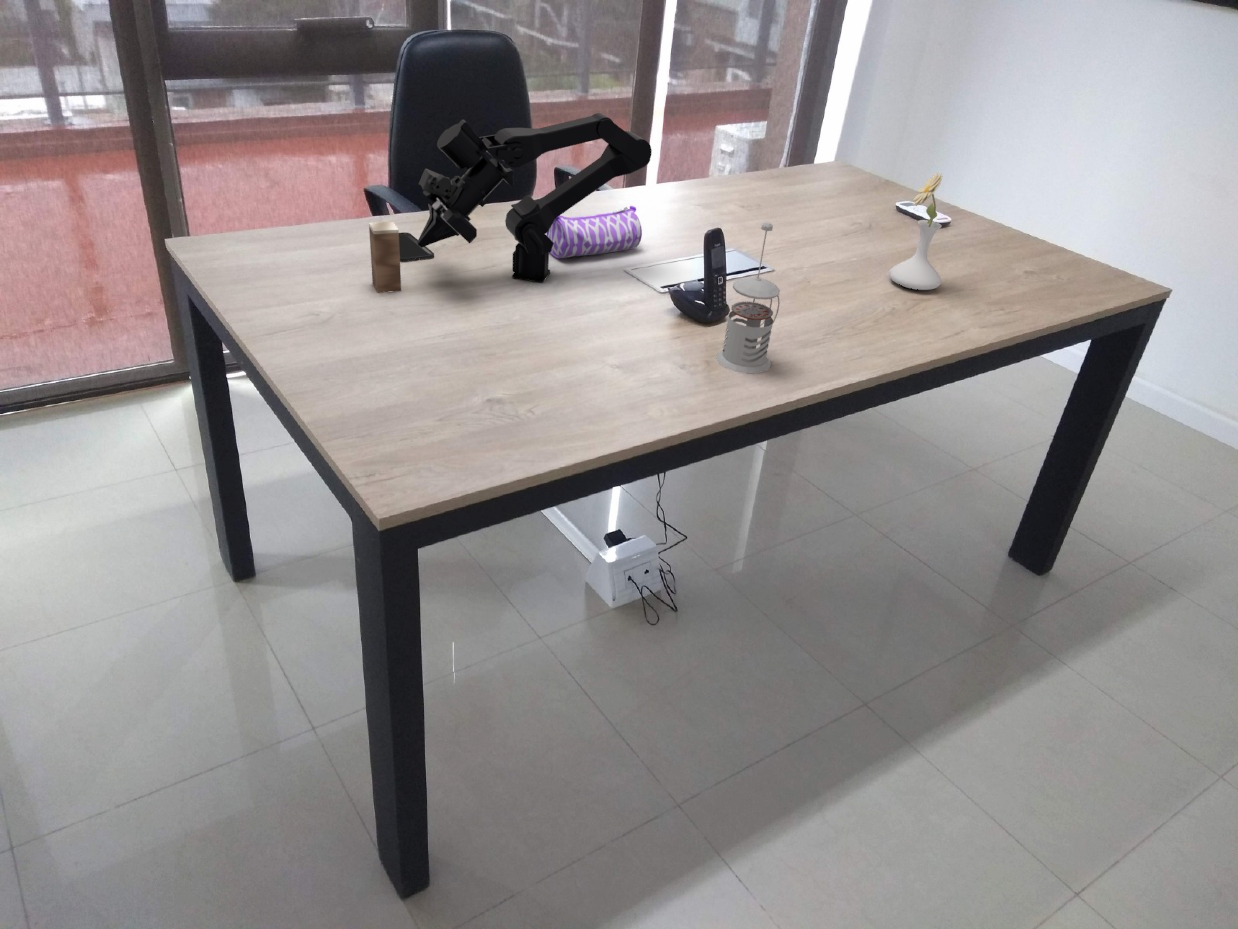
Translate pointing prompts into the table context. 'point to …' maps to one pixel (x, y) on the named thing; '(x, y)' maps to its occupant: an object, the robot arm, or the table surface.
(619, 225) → the pencil case
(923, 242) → the flower in vase
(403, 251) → the phone
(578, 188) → the robot arm
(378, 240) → the walnut block
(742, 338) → the french press
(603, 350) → the table surface
